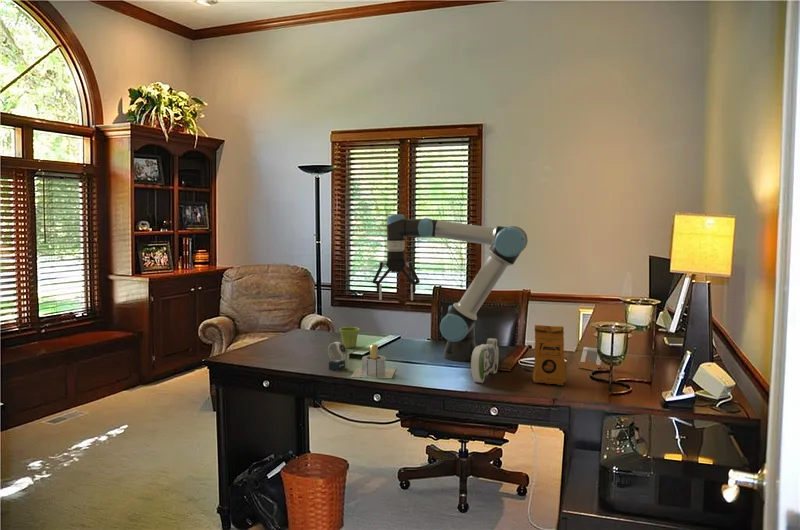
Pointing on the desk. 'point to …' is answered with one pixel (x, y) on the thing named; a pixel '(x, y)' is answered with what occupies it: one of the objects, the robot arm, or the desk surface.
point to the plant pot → (349, 336)
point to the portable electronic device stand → (590, 355)
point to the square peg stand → (388, 374)
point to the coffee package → (549, 355)
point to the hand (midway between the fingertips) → (396, 299)
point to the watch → (336, 364)
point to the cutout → (484, 360)
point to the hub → (373, 365)
